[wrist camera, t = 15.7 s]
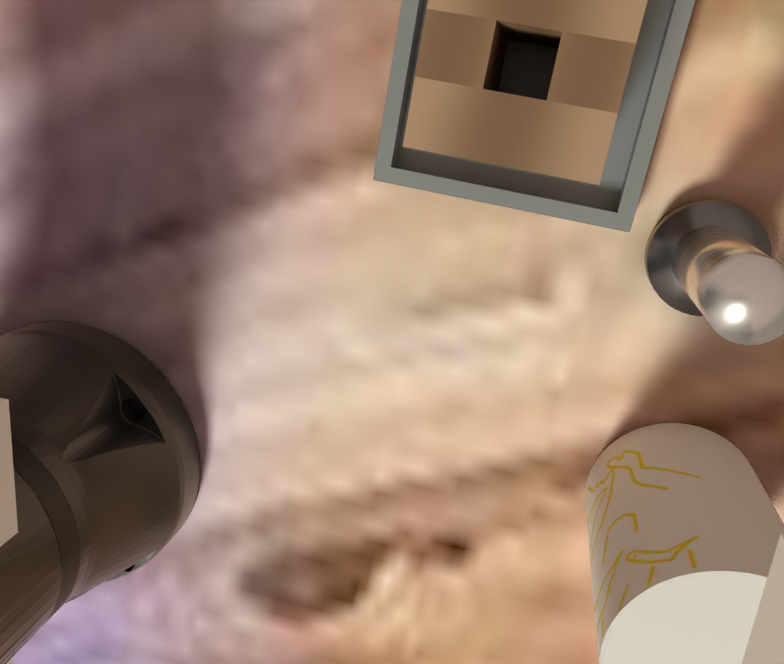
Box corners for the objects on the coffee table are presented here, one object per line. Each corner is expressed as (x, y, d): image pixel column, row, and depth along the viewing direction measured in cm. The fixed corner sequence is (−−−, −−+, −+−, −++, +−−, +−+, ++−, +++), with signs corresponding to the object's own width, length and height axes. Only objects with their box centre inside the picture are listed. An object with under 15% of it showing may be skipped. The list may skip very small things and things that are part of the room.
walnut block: (432, 139, 33) (402, 146, 26) (464, -31, 30) (440, -71, 24) (589, 169, 32) (599, 184, 25) (633, -5, 29) (657, -38, 23)
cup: (635, 395, 35) (674, 530, 24) (794, 470, 34) (912, 645, 23) (557, 525, 38) (558, 701, 26) (703, 596, 37) (768, 807, 26)
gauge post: (631, 297, 34) (656, 354, 26) (662, 188, 32) (699, 214, 24) (743, 321, 33) (804, 388, 25) (781, 212, 31) (859, 246, 23)
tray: (381, 176, 34) (373, 179, 33) (427, -94, 31) (419, -106, 29) (625, 226, 33) (629, 232, 31) (703, -53, 29) (713, -64, 27)
